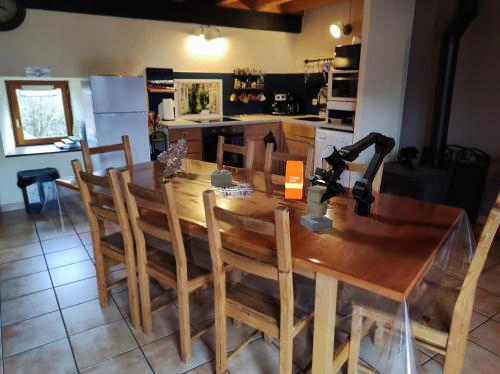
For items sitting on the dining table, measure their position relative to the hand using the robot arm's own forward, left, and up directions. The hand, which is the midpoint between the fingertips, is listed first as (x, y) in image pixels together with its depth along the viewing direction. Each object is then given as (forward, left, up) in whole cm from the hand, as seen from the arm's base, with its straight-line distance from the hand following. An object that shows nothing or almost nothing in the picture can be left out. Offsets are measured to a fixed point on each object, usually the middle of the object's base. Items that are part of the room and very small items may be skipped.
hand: (315, 200), depth 157 cm
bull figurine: (-13, -31, -12) cm, 36 cm away
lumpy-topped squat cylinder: (+27, -80, -12) cm, 86 cm away
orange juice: (-7, -43, -12) cm, 46 cm away
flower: (+54, -113, -12) cm, 126 cm away
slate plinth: (-1, 0, -12) cm, 13 cm away
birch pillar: (-1, 0, -7) cm, 7 cm away
